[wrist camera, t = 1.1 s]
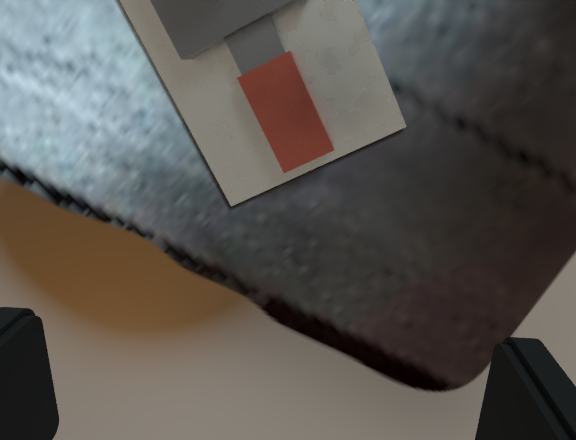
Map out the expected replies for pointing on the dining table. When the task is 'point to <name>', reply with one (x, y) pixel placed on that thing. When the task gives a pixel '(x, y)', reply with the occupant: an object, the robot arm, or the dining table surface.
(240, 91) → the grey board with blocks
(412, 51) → the dining table surface
